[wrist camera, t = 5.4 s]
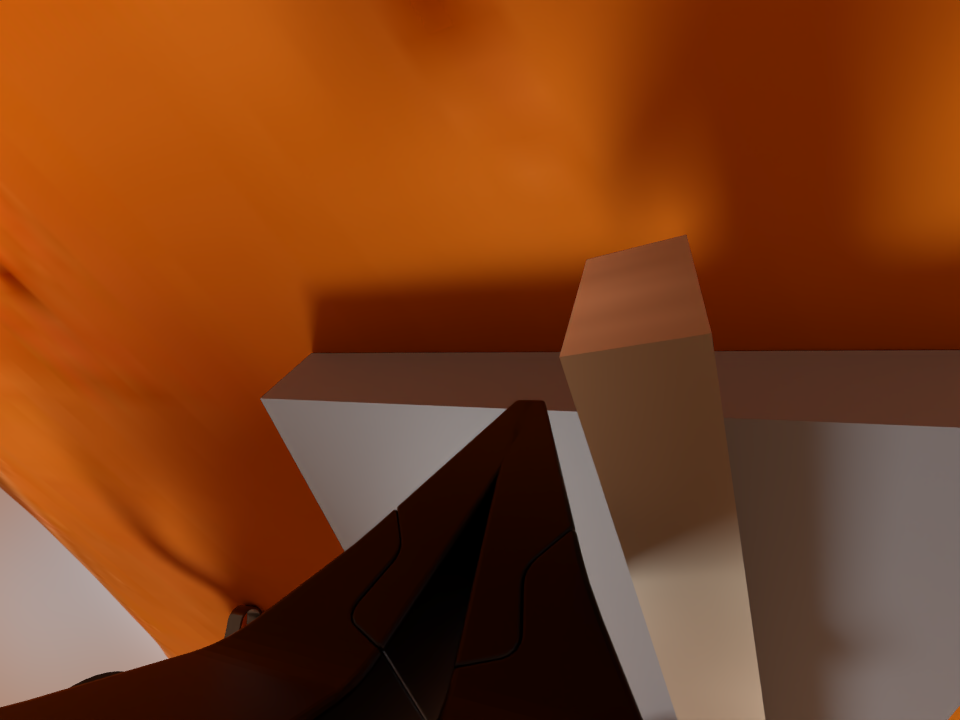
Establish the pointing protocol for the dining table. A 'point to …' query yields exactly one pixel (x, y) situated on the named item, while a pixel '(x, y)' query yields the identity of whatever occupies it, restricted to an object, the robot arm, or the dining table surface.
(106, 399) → the dining table surface
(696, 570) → the lever
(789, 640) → the board
